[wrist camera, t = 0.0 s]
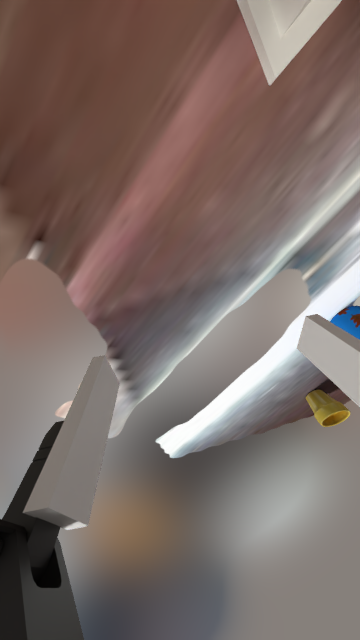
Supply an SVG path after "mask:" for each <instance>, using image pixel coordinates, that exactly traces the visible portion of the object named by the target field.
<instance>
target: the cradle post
mask: <svg viewBox="0 0 360 640" xmlns="http://www.w3.org/2000/svg"><path fill="white" fill-rule="evenodd" d="M341 1H342V0H237V3H238V5H239V8H240V11H241V13H242V16H243V18H244V21H245V24H246V26H247V29H248V31H249V34H250V37H251V39H252V42H253V44H254V47H255V50H256V52H257V55H258V58H259V60H260V63H261V65H262V68H263V71H264V73H265V76H266V78H267V81H268V84H269V86H270V85H271V84H272V83H273V81H274V80H275V79H276V78H277V77H278V76H279V74H280V73H281V72H282V71H283V70H284V68H285V67H286V66H287V65H288V64H289V63H290V61H291V60H292V59H293V58H294V57H295V55H296V54H297V53H298V52H299V51H300V50H301V48H302V47H303V46H304V45H305V44H306V42H307V41H308V40H309V39H310V38H311V37H312V35H313V34H314V33H315V32H316V31H317V29H318V28H319V27H320V26H321V25H322V24H323V22H324V21H325V20H326V19H327V18H328V16H329V15H330V14H331V13H332V12H333V11H334V9H335V8H336V7H337V6H338V5H339V3H340V2H341Z"/></svg>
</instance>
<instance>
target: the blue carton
mask: <svg viewBox="0 0 360 640" xmlns="http://www.w3.org/2000/svg"><path fill="white" fill-rule="evenodd" d="M330 322H331V323H333V324H334V325H336V326H338V327H339V328H341V329H343V330H344V331H346V332H348V333H349V334H351V335H353V336H354V337H356V338H358V339H359V340H360V306H351V307H348V308H346V309H344V310H342V311H341V312H339V313H338V314H337V315H335V316H334V317H333V318H332V320H331V321H330Z"/></svg>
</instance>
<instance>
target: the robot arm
mask: <svg viewBox="0 0 360 640" xmlns="http://www.w3.org/2000/svg"><path fill="white" fill-rule="evenodd" d="M297 349H298V350H299V351H300V352H301V353H302V354H303V355H305V356H306V357H307V358H308V359H309V360H310V361H311V362H312V363H313V364H314V365H315V366H316V367H317V368H318V369H319V370H321V371H322V372H323V373H324V374H325V375H326V376H327V377H328V378H329V379H330V380H331V381H332V382H333V383H334V384H335V385H337V386H338V387H339V388H340V389H341V390H342V391H343V392H344V393H345V394H346V395H347V396H348V397H349V398H350V399H351V400H353V401H354V402H355V403H356V404H357V405H358V406H359V407H360V340H359V339H358V338H356V337H354V336H353V335H351V334H349V333H348V332H346V331H344V330H343V329H341V328H339V327H338V326H336V325H334V324H333V323H331V322H329V321H328V320H326V319H324V318H323V317H321V316H320V315H318V314H315V315H310V316H306V317H305V321H304V325H303V328H302V332H301V335H300V339H299V342H298V346H297ZM119 384H120V383H119V381H118V379H117V377H116V375H115V374H114V372H113V370H112V368H111V366H110V364H109V362H108V360H107V358H106V356H105V355H104V356H99V357H94V358H93V359H92V361H91V363H90V366H89V368H88V370H87V372H86V374H85V376H84V379H83V381H82V383H81V385H80V387H79V390H78V392H77V394H76V396H75V398H74V401H73V403H72V405H71V407H70V409H69V412H68V414H67V416H66V418H65V420H64V421H60V422H56V423H55V424H54V425H53V426H52V428H51V429H50V430H49V431H48V433H47V434H46V435H45V437H44V439H43V441H42V443H41V445H40V447H39V451H37V453H36V455H35V457H34V459H33V463H31V465H30V467H29V469H28V470H27V473H26V474H25V476H24V478H23V480H22V482H21V484H20V487H19V488H18V490H17V492H16V494H15V496H14V498H13V500H12V502H11V504H10V506H9V508H8V510H7V512H6V513H5V515H4V517H3V518H2V520H1V519H0V640H84V638H83V633H82V629H81V625H80V621H79V617H78V613H77V609H76V605H75V601H74V597H73V593H72V589H71V585H70V581H69V577H68V573H67V569H66V565H65V561H64V557H63V554H62V549H61V545H60V542H59V540H58V538H57V536H58V533H59V530H60V527H62V528H64V529H67V530H71V529H75V528H80V527H84V526H87V525H88V523H89V518H90V514H91V509H92V504H93V500H94V496H95V491H96V487H97V482H98V478H99V474H100V469H101V465H102V460H103V456H104V451H105V446H106V442H107V438H108V433H109V429H110V424H111V420H112V415H113V411H114V406H115V402H116V397H117V393H118V388H119Z"/></svg>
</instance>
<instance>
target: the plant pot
mask: <svg viewBox="0 0 360 640" xmlns="http://www.w3.org/2000/svg"><path fill="white" fill-rule="evenodd" d="M306 399H307V401H308V403H309V405H310V406H311V408H312V410H313V412H314V416H315V418H316V419H317V421H318V422H319V423H320V424H321V425H322V426H323V427H330V426H334V425H337V424H339V423H341V422H343V421H344V420H346V419H347V418H348V417H349V416H350V411H349V410H348V409H347V408H346V407H345V406H344V405H343V404H342V403H340V402H337V401H336V400H334V399H333V398H331V397H330V396H329V395H327V394H326V393H325V392H323V391H322V390H314V391H312V392H310V393H309V394H307V396H306Z"/></svg>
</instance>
